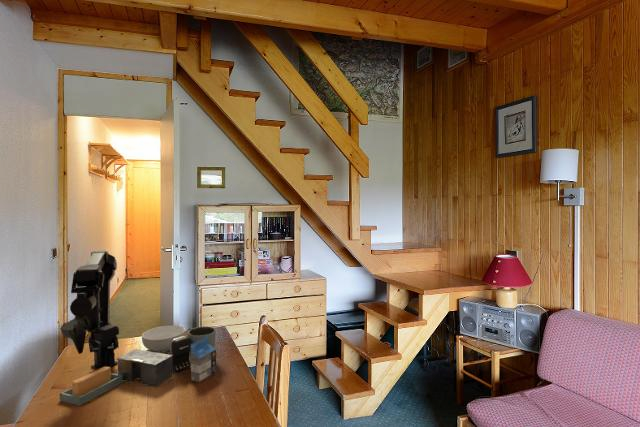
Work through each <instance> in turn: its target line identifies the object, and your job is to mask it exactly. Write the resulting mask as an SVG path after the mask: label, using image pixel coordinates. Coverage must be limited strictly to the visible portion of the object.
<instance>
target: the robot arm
mask: <svg viewBox="0 0 640 427" xmlns="http://www.w3.org/2000/svg"><path fill="white" fill-rule="evenodd" d="M117 264H118V262H117V259H116V257H115V256H114V255H112V254H110V253H109V251H107V250H94V251H91V253H90V257H89V259H88V261H87V262H86V264H85V265H82V266H79V267H78V268H77V269H76V270H75V272H74V273H73V275H72V282H71V288H70V290H71V291H70V294H76V296H75V297H76V298H75V299H74V300H72V301H71V304H70V306H69V310H70V312H71V313H72V315H73V316H74V318H72V319H71V320H70V319H69V321H67V322H64V323H63V324H62V325H61V327H59V329H60V332H61V334H62V336H63V338H69V339H71V340H72V342H73V344H74V346H75V349H76V351H77V353H78V354H79V355H81V354H82V353H84V348H85V342H86V336H87V332H88V333H90V335H89V336H88V347H89V348H88V349H89V353H93V354H94V355H93V356H94V359H93V360H94V362H93V363H94V364H92V365H90V368H92V369H95V370H98V369H100V368H103V367H105V366H106V367H111V368H112V367H113V366H115V365H118V361H116V359H115V358H116V357H115V354H116V353H115V350H117V349H119V347H120V346H119V343H120V342H119V338H118V335H119V334H120V328H119V326H117V325H114V324H112V323H111V322H110V315H111V314H110V311H111V309H110V307H111V305H110V304H111V302H110V301H111V281H112V280H113V278H114V277H115V275H116V270H117V268H118V267H117V266H118V265H117Z"/></svg>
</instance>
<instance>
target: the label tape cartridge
mask: <svg viewBox="0 0 640 427" xmlns="http://www.w3.org/2000/svg"><path fill="white" fill-rule="evenodd" d="M199 343H200V344H201V343H202V345H200V346H198V347H197V345H199ZM216 373H217V349H216V348H215V347H214V348H213V347H212V346H210V345H209V344H208V337H206V338H204V339H202V340H200V341H197V342H195V343H193V344H191V364H190V379H191V380H190V381H193V382H195V383H196V382H197V383H201V382H203V381H204V380H206V379H208V378H209V377H210V376H213V375H214V374H216Z"/></svg>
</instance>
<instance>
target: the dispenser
mask: <svg viewBox="0 0 640 427" xmlns="http://www.w3.org/2000/svg"><path fill="white" fill-rule="evenodd" d="M172 357H173V355H170V354H169V353H168V354H167V353H163V352H156V351H151V350H149V351H148V350H142V349H137V348H136V349H133V350H132V351H129V352H126V353H124V354H122V355H121V356H118V357H117V358H116V360H117V362H118V363H117V374H118V375H123V382H129V383H134V382H135V381H137V380H139V379H140V384H141V385H143V386H149V387H153V388H157V387H158V386H160V385H162V384H164V383H165V382H167V381H168V380H170V379H172V377H173V375H174V374H173V371H172Z"/></svg>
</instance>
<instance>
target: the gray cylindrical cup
mask: <svg viewBox="0 0 640 427" xmlns="http://www.w3.org/2000/svg"><path fill="white" fill-rule="evenodd" d="M187 337H188V338H190V340H191V344H193V343H195V342H197V341H200V340H202V339H204V338H206V337H208V344H209V345H210V346H212V347H213V348H215V347H216V346H215V345H216V328H215V327H213V326H203V325H202V326H197V327H192V328H191V329H189V330H188V331H187ZM200 345H202V343H201V344H200V343H199V345H197V347H198V346H200ZM189 360H190V365H191V351H190V354H189Z"/></svg>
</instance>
